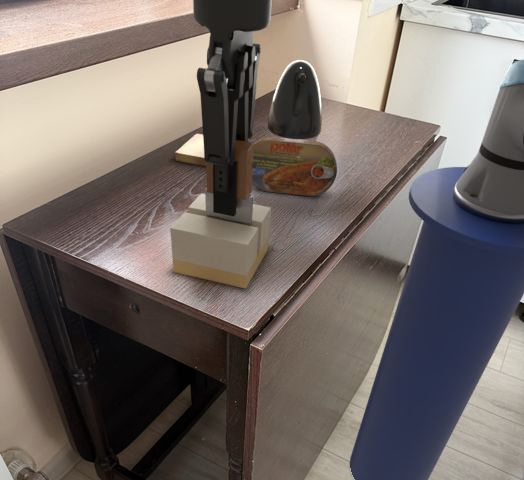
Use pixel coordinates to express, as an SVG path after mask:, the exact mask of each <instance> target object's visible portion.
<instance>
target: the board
mask: <svg viewBox="0 0 524 480" xmlns="http://www.w3.org/2000/svg"><path fill="white" fill-rule="evenodd" d="M174 155H175V157H174V158H175V161H176V162H182V163H187V164H192V165H198V166H202V167H203V166H204V167H206V162H205V159H204V142H203V133H202V134H201V133H195V134H194V135H193V136H192V137H191V138H190V139H188V140H187V141H186V142H185V143H184V144H183V145H182V146H181V147H180V148H179V149H178V150H176V151H175V152H174Z"/></svg>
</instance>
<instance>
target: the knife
mask: <svg viewBox="0 0 524 480" xmlns="http://www.w3.org/2000/svg"><path fill="white" fill-rule="evenodd" d="M254 143H255V142H252V141H251V142H250V141H248V142H246V141H240V140H236V142H235V162H237V197H236V198H237V199H236V215H235V216H234V217H233V216H229V215H224V214H219V213H214V212H213V164H211V163H206V166H205V168H206V175H205V176H206V188H205V190H204V191H205V192H204V194H205V198H206V217H210V218H215V219H219V220H224V221H229V222H234V223H238V224H243V225H248V226H252V215H253V204H254V195H252V191H253V184H252V173H253V153H254Z"/></svg>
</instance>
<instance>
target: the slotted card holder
mask: <svg viewBox="0 0 524 480" xmlns="http://www.w3.org/2000/svg"><path fill="white" fill-rule="evenodd" d="M271 215H272V207H271V206H266V205H261V204H257V203H253V215H252V226H248V225H243V224H238V223H234V222H229V221H224V220H219V219H215V218H210V217H206V198H205V193H199V195H198V196H197V197H196V198H195V199H194V200H193V202H192V203H190V205H189V206H188V212H185V211H184V212H183V213H182V214H181V215H180V216H179V218H178V219H177V220H175V222H174V223H173V224H172V225H171V226H170V229H169V231H170V242H171V243H170V244H171V245H170V246H171V255H172V256H171V257H172V269H173V273H176V274H181V275H185V276H189V277H193V278H199V279H203V280H207V281H211V282H216V283H220V284H225V285H228V286H232V287H237V288H241V289H245V290H246V289H247V287H248V286H249V284H250V282H251V280H252V279H253V277H254V274H255V273H256V271H257V270H258V268H259V266H260V264H261V263H262V261H263V259H264V257H265V256H266V254H267V252H268V250H269V242H270V241H269V240H270V229H271V228H270V227H271V217H272V216H271Z"/></svg>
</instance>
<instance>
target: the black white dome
mask: <svg viewBox="0 0 524 480" xmlns="http://www.w3.org/2000/svg"><path fill="white" fill-rule="evenodd" d="M321 98H322V97H321V90H320V84H319V81H318V76H317V74H316V71H315V69H314V67H313V66H312V65H311V63H309V62H308V61H306V60H302V59H301V60H300V59H297V60H294V61H292V62H290V63H289V64H288V65H287V66H286V68H285V70H284V71H283V73H282V75H281V76H280V79H279V80H278V83H277V86H276V89H275V92H274V94H273V97H272V101H271V105H270V109H269V113H268V118H267V119H268V120H267V130H268V131H269V137H278V138H287V139H297V140H308V141H318V138H319V135H320V134H321V133H322V126H323V108H322V99H321Z"/></svg>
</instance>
